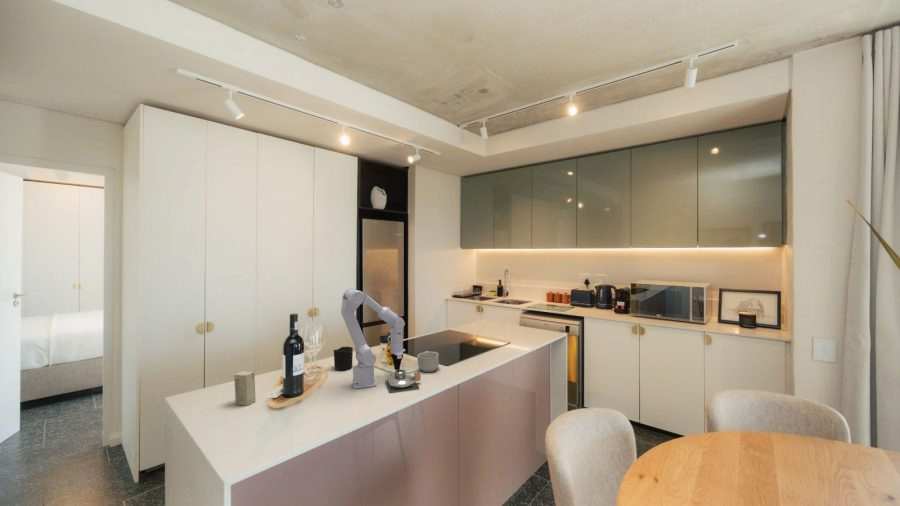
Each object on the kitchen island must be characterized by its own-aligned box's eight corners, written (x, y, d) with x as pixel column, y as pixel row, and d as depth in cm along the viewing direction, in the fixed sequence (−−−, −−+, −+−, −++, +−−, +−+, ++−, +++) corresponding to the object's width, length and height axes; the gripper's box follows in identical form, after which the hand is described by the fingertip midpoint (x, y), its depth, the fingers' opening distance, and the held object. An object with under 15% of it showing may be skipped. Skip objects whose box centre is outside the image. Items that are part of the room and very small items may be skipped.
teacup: (438, 373, 174) (438, 357, 174) (416, 373, 174) (416, 357, 174) (439, 364, 188) (439, 349, 188) (419, 364, 188) (419, 349, 188)
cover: (395, 379, 160) (395, 373, 160) (393, 375, 165) (393, 369, 165) (406, 378, 161) (406, 371, 161) (404, 374, 166) (404, 368, 166)
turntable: (389, 389, 152) (389, 381, 152) (385, 379, 163) (385, 372, 163) (423, 384, 157) (423, 377, 157) (417, 375, 168) (416, 368, 168)
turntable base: (389, 393, 152) (389, 390, 151) (385, 382, 164) (385, 379, 164) (419, 389, 156) (419, 386, 156) (412, 378, 168) (412, 376, 168)
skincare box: (256, 401, 145) (255, 371, 144) (247, 406, 141) (246, 375, 140) (243, 399, 146) (242, 370, 146) (234, 404, 142) (233, 374, 142)
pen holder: (334, 366, 186) (333, 347, 186) (352, 364, 189) (352, 345, 189) (333, 372, 177) (333, 352, 177) (353, 370, 180) (353, 350, 180)
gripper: (408, 344, 165) (408, 373, 165) (402, 336, 178) (402, 363, 179) (392, 345, 162) (393, 375, 163) (388, 338, 176) (388, 365, 176)
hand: (397, 369), depth 171 cm, fingers closed
